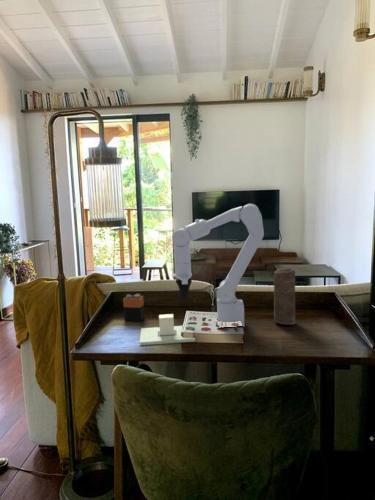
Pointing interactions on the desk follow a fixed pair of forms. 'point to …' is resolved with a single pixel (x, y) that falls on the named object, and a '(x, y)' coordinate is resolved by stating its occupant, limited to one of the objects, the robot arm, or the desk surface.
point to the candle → (284, 296)
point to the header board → (162, 336)
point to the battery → (133, 308)
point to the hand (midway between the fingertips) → (184, 298)
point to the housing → (166, 324)
